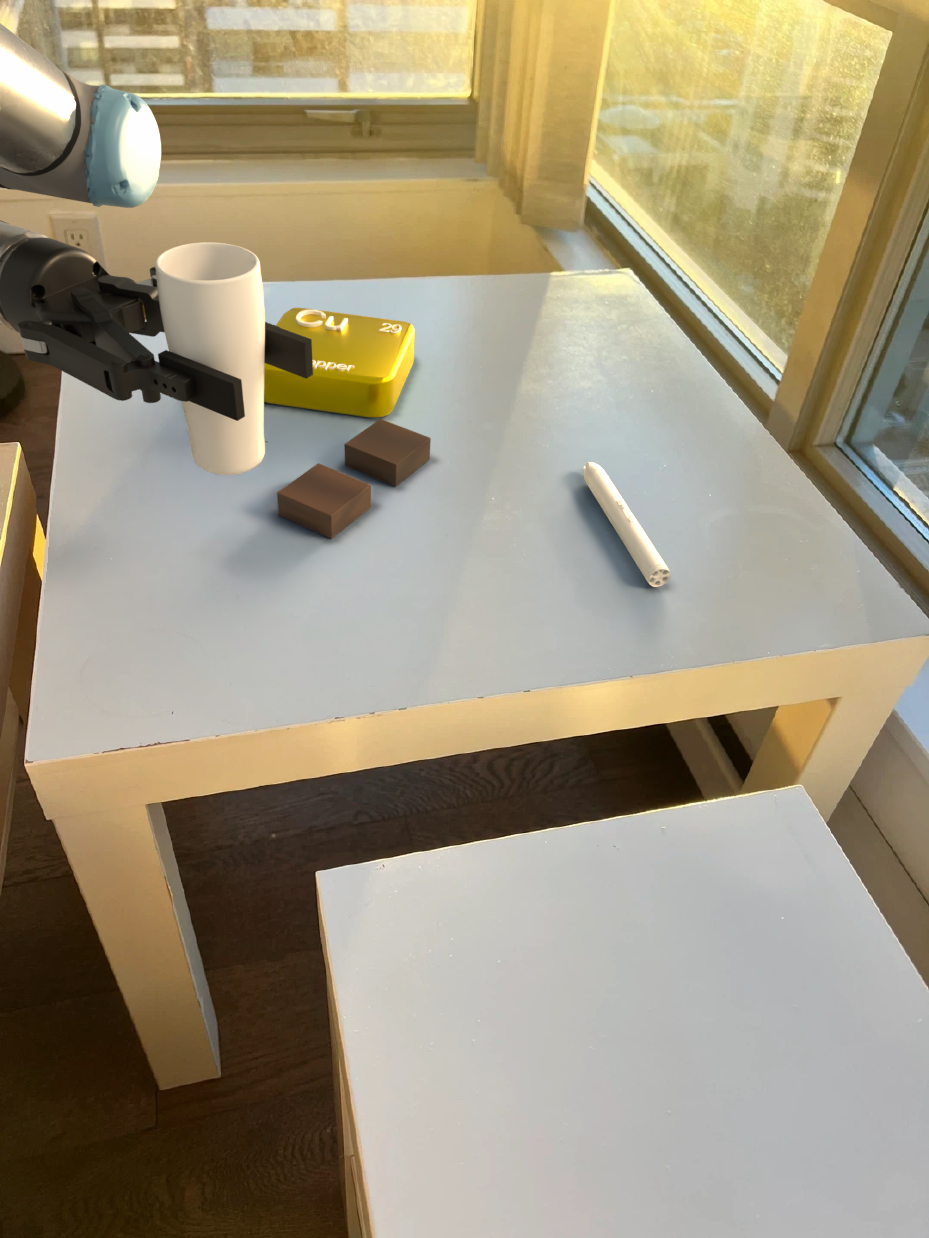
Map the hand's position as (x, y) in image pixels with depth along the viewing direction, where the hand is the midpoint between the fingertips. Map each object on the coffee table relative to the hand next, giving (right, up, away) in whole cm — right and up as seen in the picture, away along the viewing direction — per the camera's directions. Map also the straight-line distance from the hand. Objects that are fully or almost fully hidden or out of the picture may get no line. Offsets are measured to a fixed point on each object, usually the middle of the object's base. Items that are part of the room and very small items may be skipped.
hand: (275, 379), depth 65 cm
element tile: (-1, +10, +41) cm, 43 cm away
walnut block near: (0, -6, +23) cm, 24 cm away
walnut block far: (+5, -1, +29) cm, 30 cm away
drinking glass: (-5, -4, +7) cm, 10 cm away
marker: (+27, -8, +24) cm, 37 cm away
